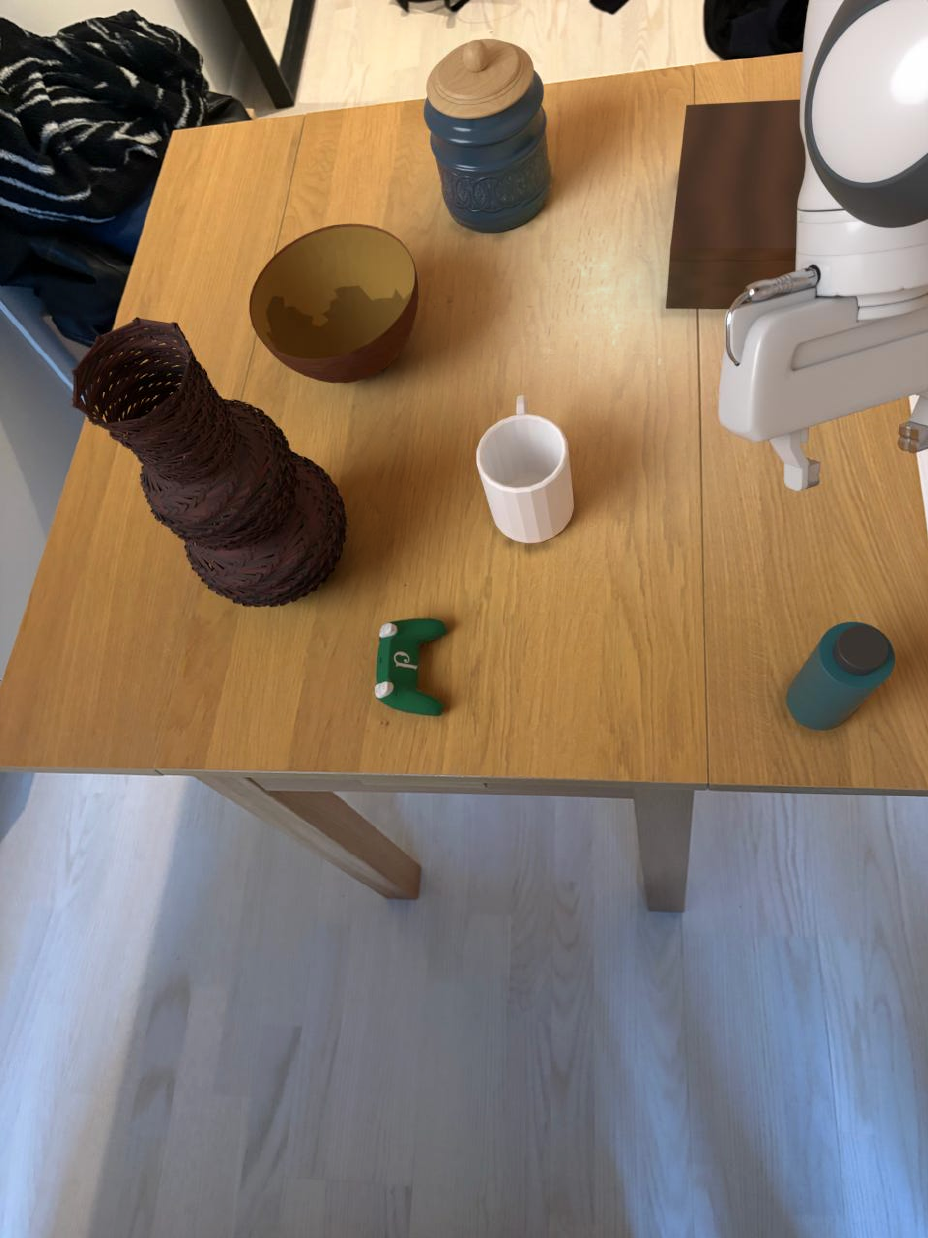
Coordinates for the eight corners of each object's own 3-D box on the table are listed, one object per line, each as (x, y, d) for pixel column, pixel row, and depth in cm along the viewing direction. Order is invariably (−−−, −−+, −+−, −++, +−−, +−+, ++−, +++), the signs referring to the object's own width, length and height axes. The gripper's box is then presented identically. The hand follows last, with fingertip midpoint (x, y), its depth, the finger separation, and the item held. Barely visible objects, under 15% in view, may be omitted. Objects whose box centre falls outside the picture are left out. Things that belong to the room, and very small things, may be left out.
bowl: (468, 336, 88) (451, 266, 79) (360, 447, 85) (328, 388, 76) (360, 271, 94) (332, 200, 85) (256, 372, 91) (215, 309, 82)
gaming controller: (429, 631, 77) (375, 616, 74) (451, 619, 74) (395, 604, 71) (425, 723, 74) (367, 712, 71) (447, 715, 71) (388, 703, 68)
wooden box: (811, 167, 88) (828, 97, 81) (806, 309, 81) (824, 247, 74) (681, 171, 91) (686, 104, 84) (665, 308, 84) (670, 248, 77)
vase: (381, 499, 82) (261, 278, 54) (349, 638, 76) (198, 471, 49) (246, 491, 85) (70, 279, 58) (206, 624, 80) (-8, 460, 53)
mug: (569, 435, 81) (563, 371, 72) (576, 540, 76) (570, 486, 67) (491, 443, 82) (475, 382, 73) (493, 547, 77) (476, 495, 68)
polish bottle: (849, 676, 67) (902, 616, 54) (849, 734, 65) (903, 685, 53) (787, 669, 68) (824, 609, 56) (784, 726, 66) (822, 677, 54)
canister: (465, 251, 92) (433, 106, 76) (431, 182, 98) (394, 32, 82) (569, 208, 92) (559, 53, 76) (529, 140, 97) (511, -18, 81)
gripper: (760, 293, 43) (759, 526, 50) (1056, 214, 47) (1016, 439, 54) (694, 285, 48) (701, 496, 55) (964, 215, 52) (939, 419, 59)
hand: (859, 467), depth 54 cm, fingers open, 8 cm apart
